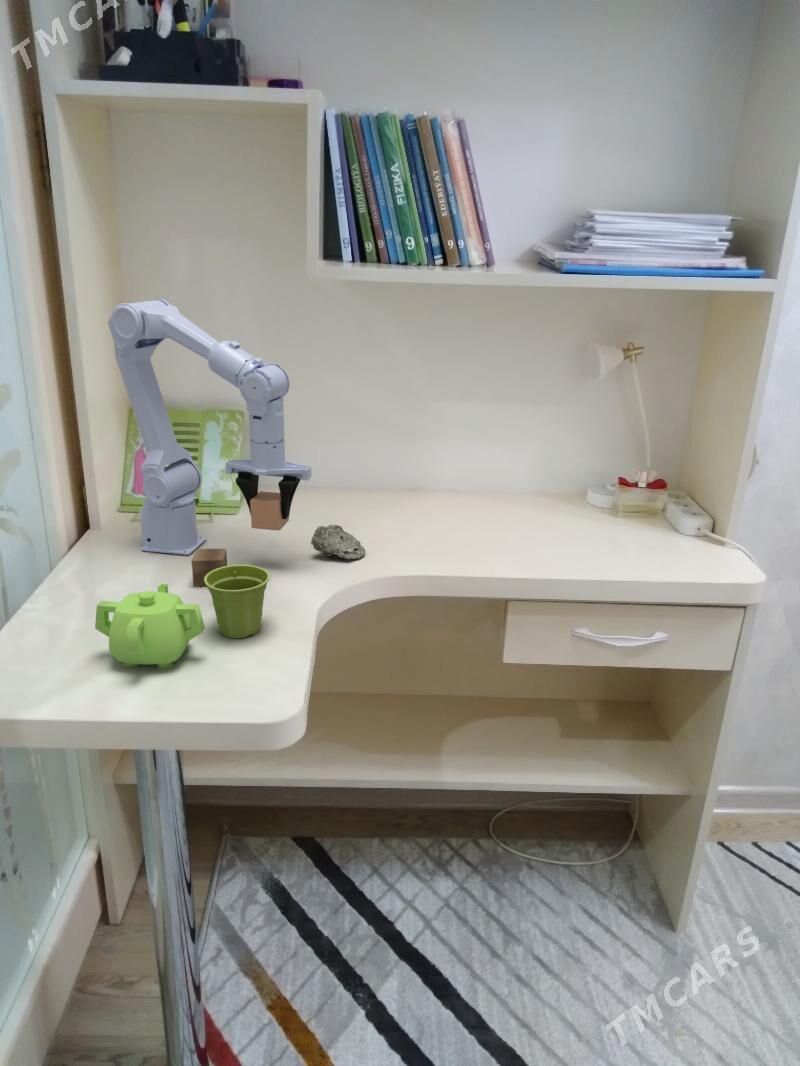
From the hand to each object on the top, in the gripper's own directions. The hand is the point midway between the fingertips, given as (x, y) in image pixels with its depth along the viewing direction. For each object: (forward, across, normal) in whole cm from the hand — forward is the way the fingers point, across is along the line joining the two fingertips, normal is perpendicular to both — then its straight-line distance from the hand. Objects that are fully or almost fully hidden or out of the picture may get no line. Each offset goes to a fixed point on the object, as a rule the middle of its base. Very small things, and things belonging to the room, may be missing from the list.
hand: (270, 515), depth 142 cm
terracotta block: (+2, 0, 0) cm, 2 cm away
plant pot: (+10, +3, -23) cm, 25 cm away
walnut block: (+10, -8, -8) cm, 15 cm away
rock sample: (+10, +11, +8) cm, 17 cm away
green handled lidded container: (+10, -6, -33) cm, 35 cm away
